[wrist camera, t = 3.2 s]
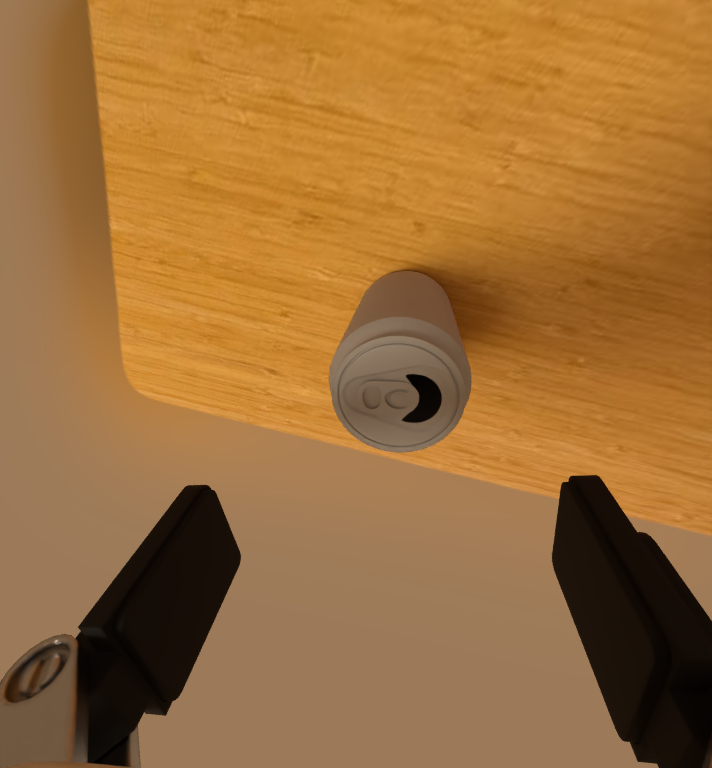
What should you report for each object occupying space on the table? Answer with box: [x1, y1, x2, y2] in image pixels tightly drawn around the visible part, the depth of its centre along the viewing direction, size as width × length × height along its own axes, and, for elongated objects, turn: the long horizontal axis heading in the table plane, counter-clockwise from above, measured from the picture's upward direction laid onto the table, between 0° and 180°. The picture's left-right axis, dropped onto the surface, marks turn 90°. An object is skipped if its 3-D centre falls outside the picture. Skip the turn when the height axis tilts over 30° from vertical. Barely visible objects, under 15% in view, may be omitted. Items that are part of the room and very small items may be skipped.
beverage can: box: [329, 271, 471, 452], centre depth 21 cm, size 6×6×12 cm
